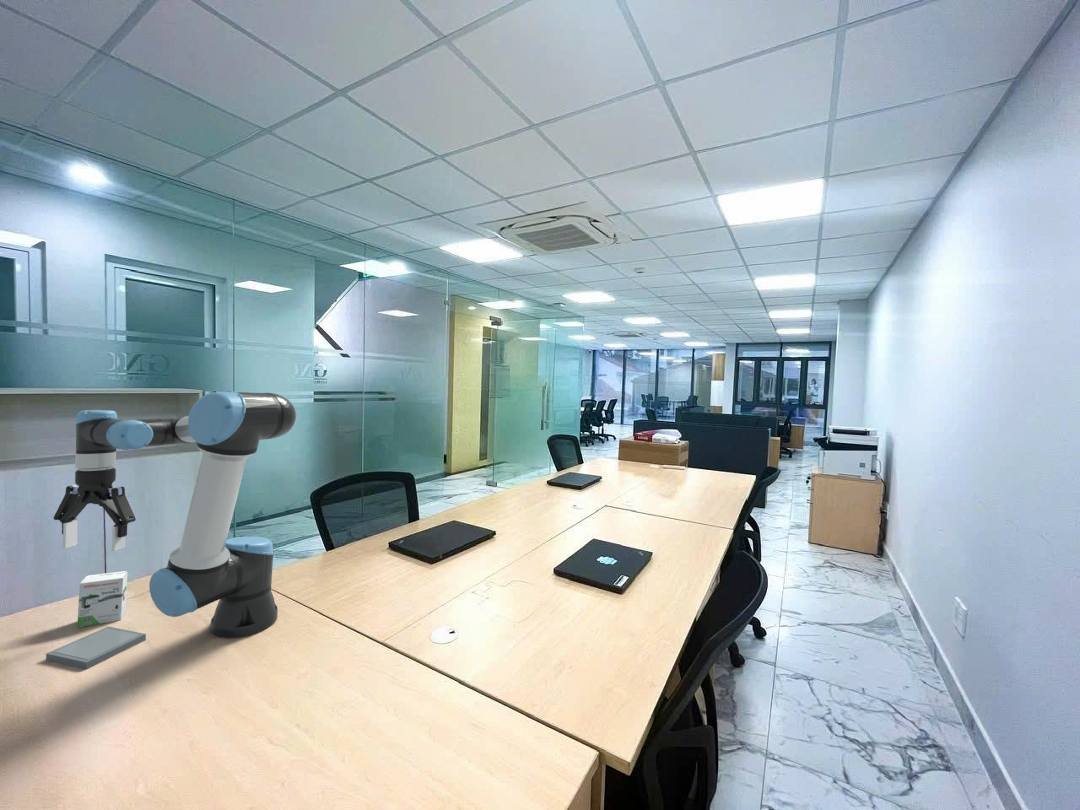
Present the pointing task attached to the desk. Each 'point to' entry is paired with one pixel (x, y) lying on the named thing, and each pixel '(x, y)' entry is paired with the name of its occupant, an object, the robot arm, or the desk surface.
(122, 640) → the slate pad
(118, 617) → the ink box
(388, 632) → the desk surface
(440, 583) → the desk surface
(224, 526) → the robot arm
